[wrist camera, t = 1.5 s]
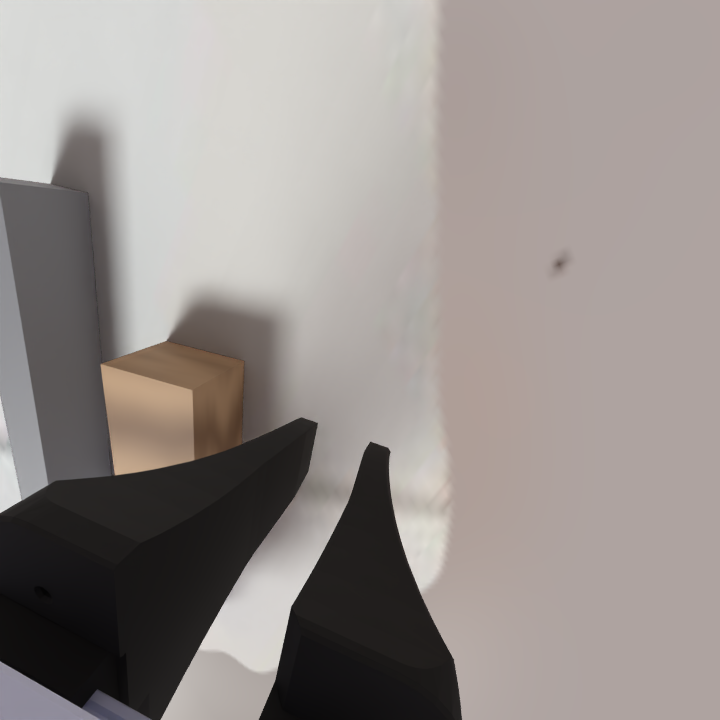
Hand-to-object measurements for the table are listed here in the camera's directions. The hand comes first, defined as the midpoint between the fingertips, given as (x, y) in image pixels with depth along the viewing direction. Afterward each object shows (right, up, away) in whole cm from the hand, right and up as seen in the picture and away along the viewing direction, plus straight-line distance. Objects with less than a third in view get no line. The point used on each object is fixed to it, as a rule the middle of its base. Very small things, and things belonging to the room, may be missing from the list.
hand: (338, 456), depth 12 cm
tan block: (-10, 0, +13) cm, 17 cm away
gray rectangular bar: (-20, +3, +15) cm, 25 cm away
